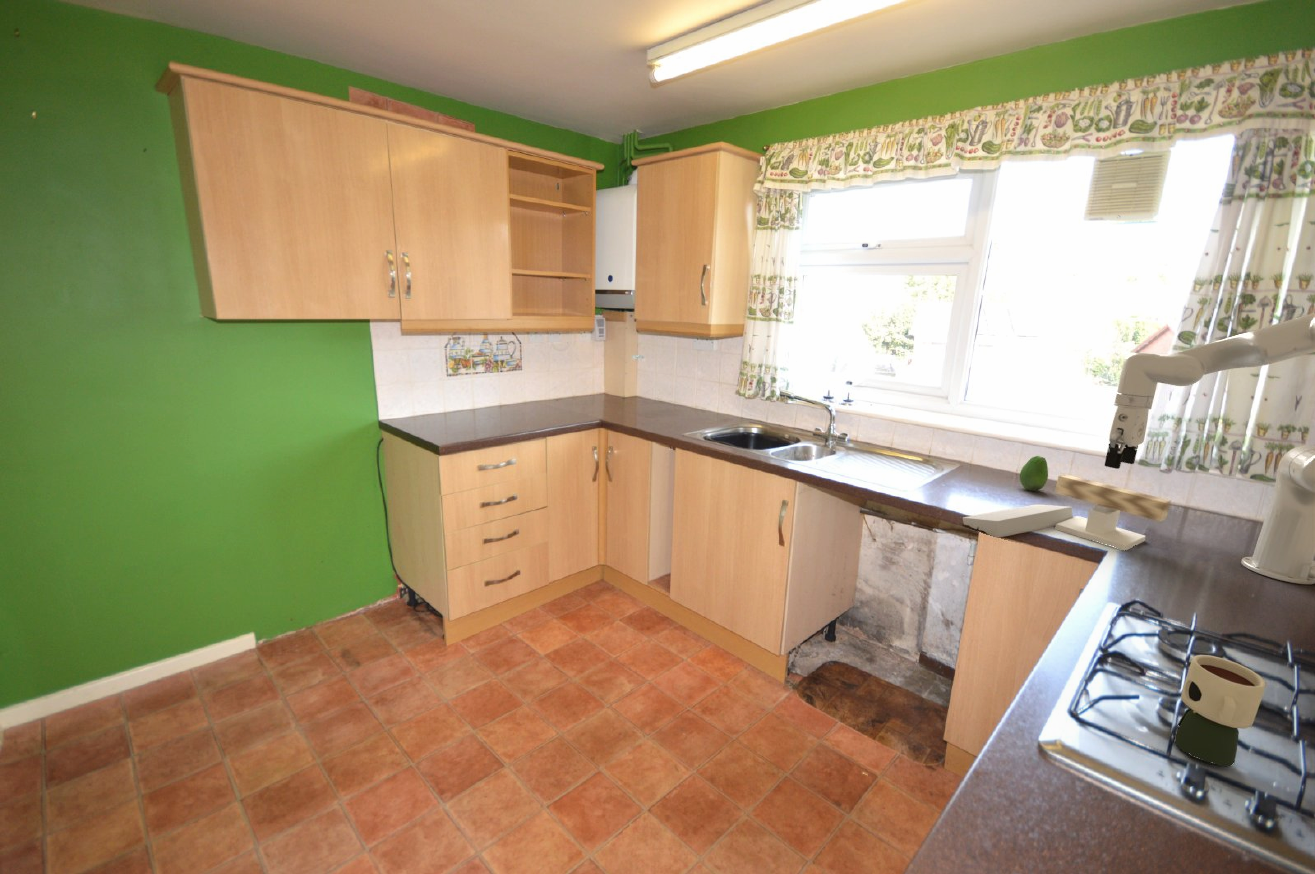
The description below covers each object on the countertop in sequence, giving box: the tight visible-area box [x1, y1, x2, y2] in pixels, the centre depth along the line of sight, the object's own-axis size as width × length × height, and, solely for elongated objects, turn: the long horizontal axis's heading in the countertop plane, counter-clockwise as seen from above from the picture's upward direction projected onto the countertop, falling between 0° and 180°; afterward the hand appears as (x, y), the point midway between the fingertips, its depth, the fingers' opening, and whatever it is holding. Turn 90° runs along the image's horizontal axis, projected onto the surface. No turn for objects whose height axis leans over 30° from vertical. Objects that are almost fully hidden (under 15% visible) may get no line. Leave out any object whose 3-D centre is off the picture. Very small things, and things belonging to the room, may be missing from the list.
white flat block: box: [962, 504, 1074, 539], centre depth 163 cm, size 34×5×10 cm
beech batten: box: [1054, 473, 1172, 522], centre depth 154 cm, size 24×4×5 cm, turn 34°
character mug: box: [1174, 654, 1267, 767], centre depth 77 cm, size 11×7×13 cm, turn 143°
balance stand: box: [1054, 504, 1147, 552], centre depth 156 cm, size 16×14×9 cm
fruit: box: [1019, 455, 1049, 492], centre depth 193 cm, size 8×8×12 cm
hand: (1119, 465), depth 152 cm, fingers open, 9 cm apart
